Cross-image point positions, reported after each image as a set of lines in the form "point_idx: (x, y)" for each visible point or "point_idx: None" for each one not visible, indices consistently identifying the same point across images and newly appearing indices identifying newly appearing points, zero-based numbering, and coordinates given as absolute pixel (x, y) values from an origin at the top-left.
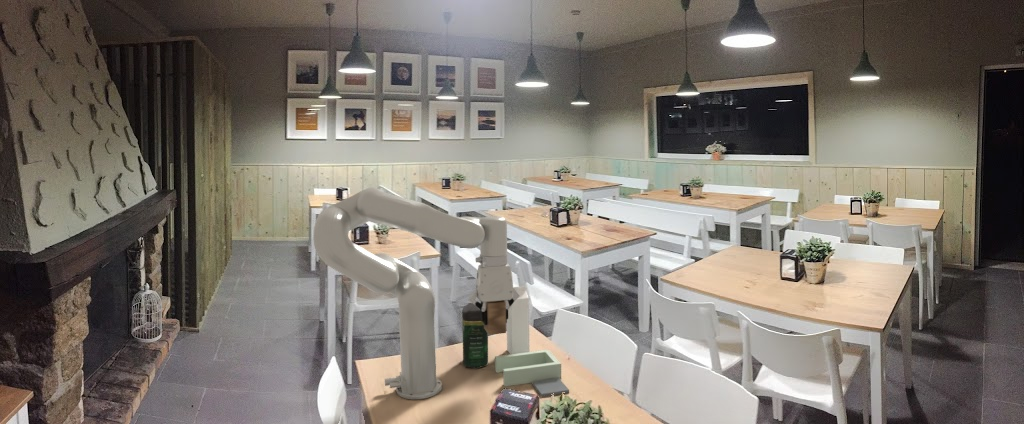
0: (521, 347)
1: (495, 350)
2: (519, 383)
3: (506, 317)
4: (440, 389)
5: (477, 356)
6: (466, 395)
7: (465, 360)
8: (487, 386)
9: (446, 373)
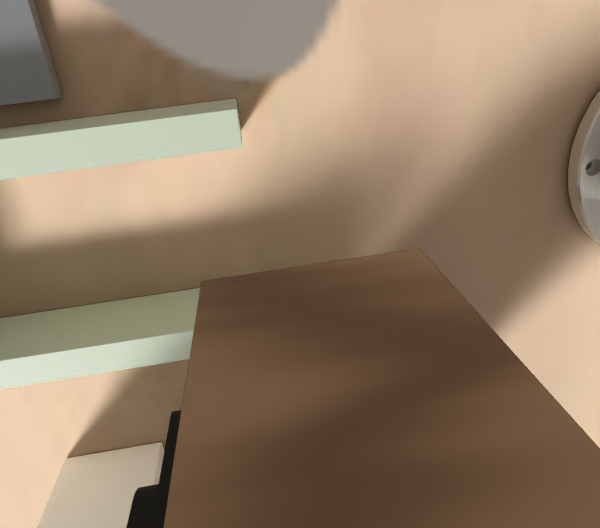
0: (99, 484)
1: None
2: (143, 110)
3: (165, 472)
4: (597, 101)
5: None
6: (469, 25)
7: None
8: (335, 120)
9: (508, 304)
